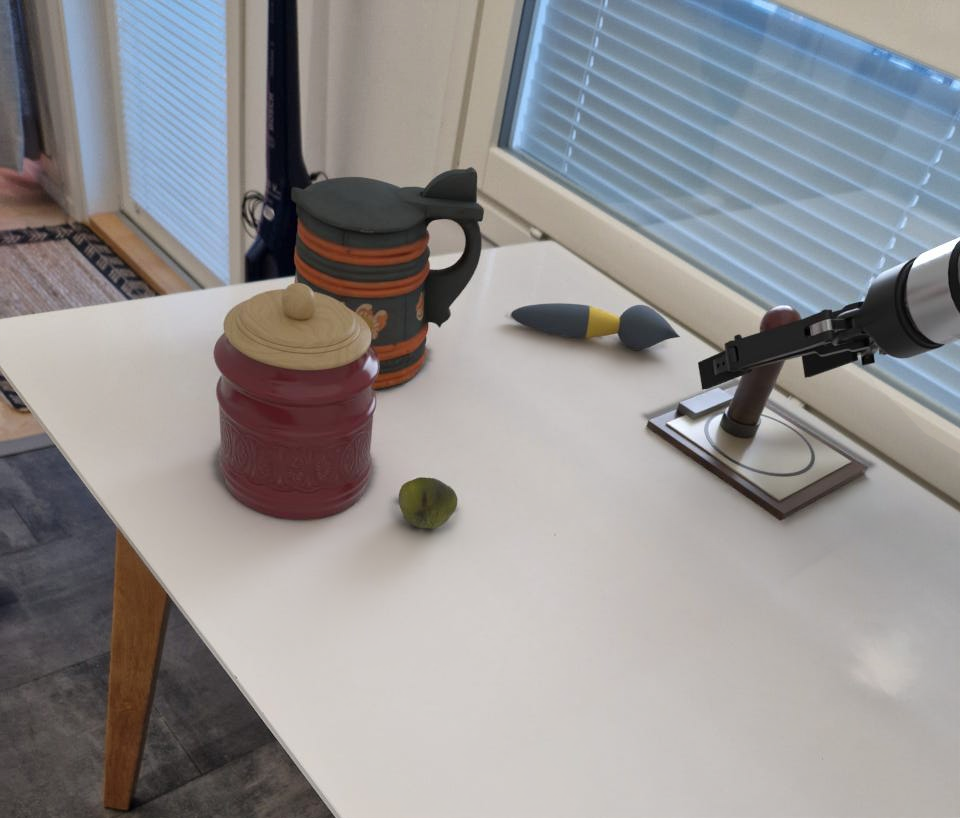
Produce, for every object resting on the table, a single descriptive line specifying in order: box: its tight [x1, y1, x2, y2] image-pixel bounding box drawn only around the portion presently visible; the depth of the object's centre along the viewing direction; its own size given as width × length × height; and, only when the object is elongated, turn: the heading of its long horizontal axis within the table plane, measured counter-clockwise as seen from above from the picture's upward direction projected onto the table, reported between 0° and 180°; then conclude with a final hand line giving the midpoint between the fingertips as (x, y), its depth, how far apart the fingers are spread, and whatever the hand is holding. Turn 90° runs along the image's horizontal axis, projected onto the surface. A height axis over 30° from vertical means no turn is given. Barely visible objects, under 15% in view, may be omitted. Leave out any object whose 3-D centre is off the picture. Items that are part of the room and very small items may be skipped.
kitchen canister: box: [213, 283, 380, 520], centre depth 74 cm, size 13×13×18 cm
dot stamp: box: [720, 304, 803, 438], centre depth 91 cm, size 4×4×14 cm
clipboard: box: [645, 384, 869, 521], centre depth 95 cm, size 18×16×2 cm
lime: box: [398, 476, 459, 529], centre depth 76 cm, size 4×5×5 cm
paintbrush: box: [510, 302, 681, 351], centre depth 105 cm, size 20×5×5 cm, turn 91°
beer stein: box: [290, 166, 485, 390], centre depth 89 cm, size 19×15×20 cm
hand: (755, 370), depth 93 cm, fingers open, 13 cm apart
